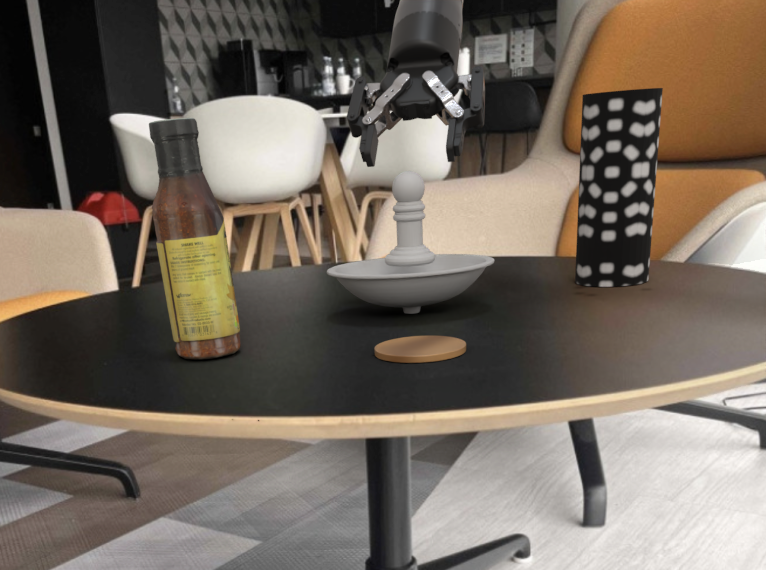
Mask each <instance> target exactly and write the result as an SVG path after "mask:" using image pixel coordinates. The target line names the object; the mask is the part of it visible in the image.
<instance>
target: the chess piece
mask: <svg viewBox="0 0 766 570" xmlns="http://www.w3.org/2000/svg"><path fill="white" fill-rule="evenodd" d="M425 188H426V185H425V181H424V179H423V177H422V176H421V174H419V173H418V172H416V171H414V170H413V171H412V170H405V171H402V172H400V173H398V174H397V175H396V176H395V178H394V179H393V182H392V186H391V191H392V196H393V198H394V200H395V201H396V202H395V204H394V205H393V206H392V211H393V212H394V214H393V216H392V220H393V221H394V222H396V224H395V225H396V246H395V247H394V249H391V250H390V251H389V253H388V254H386V255H385V256H384V258H385V263H386V264H387V265H389V266H396V267H410V266H420V265H426V264H430V263H432V262H434V260H435V257H436V256H435V254H436V253H434V251H431V250H430V248H429V247H427V246H426V244H425V243H424V235H423V234H424V233H423V232H424V231H423V230H424V229H423V220H424V219H425V218H426V213H425V212H424V210H425V209H426V204H425V203H424V202H423V200H422V199H423V197H424V195H425V191H426V190H425Z"/></svg>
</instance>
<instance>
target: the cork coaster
mask: <svg viewBox="0 0 766 570" xmlns="http://www.w3.org/2000/svg"><path fill="white" fill-rule="evenodd" d="M466 352H467V342H466V341H465V340H463V339H461V338H457V337H454V336H447V335H412V336H404V337H398V338H393V339H389V340H385V341H382V342H380V343H377V344H376V345H375V346H374V356H375V358H377V359H379V360H381V361H386V362H389V363H401V364H422V363H424V364H425V363H434V362H435V363H436V362H440V361H446V360H450V359H454V358H457V357H460V356H462V355H464V354H465V353H466Z"/></svg>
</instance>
